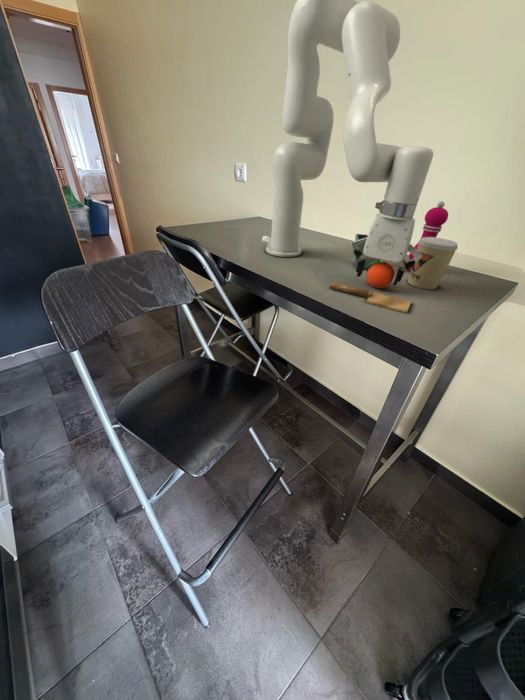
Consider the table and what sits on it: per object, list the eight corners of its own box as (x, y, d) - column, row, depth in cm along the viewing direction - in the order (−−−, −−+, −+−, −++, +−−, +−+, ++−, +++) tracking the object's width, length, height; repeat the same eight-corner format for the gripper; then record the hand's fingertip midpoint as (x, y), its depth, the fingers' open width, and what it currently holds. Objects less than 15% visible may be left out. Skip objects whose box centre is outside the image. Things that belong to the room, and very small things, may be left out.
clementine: (358, 288, 77) (365, 262, 73) (360, 280, 82) (367, 255, 78) (389, 294, 75) (398, 267, 71) (389, 285, 80) (398, 260, 76)
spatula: (326, 291, 74) (327, 285, 73) (333, 284, 78) (334, 278, 77) (406, 313, 66) (409, 306, 65) (410, 303, 71) (412, 297, 69)
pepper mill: (401, 269, 92) (424, 200, 81) (409, 264, 97) (432, 198, 85) (424, 275, 89) (452, 204, 77) (431, 270, 93) (459, 202, 82)
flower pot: (379, 273, 88) (388, 243, 83) (350, 269, 89) (357, 240, 84) (376, 264, 95) (384, 236, 90) (349, 261, 96) (355, 233, 91)
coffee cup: (400, 277, 86) (414, 235, 79) (430, 279, 86) (447, 237, 79) (412, 289, 78) (429, 244, 72) (446, 291, 79) (466, 247, 72)
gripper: (357, 207, 68) (341, 276, 78) (436, 218, 61) (408, 292, 71) (365, 204, 73) (349, 268, 83) (438, 213, 67) (412, 282, 76)
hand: (376, 279), depth 77 cm, fingers open, 9 cm apart
